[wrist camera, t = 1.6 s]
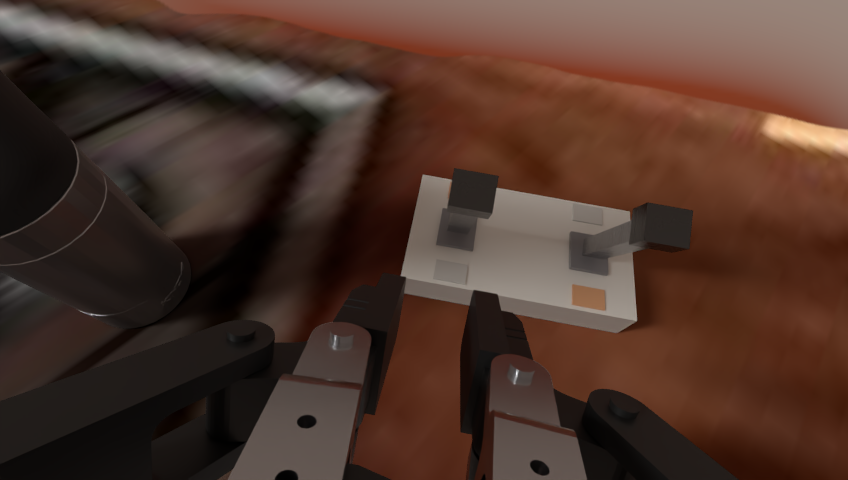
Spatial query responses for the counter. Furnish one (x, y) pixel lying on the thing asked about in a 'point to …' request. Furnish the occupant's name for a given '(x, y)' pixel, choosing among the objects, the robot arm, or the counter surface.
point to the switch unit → (522, 258)
